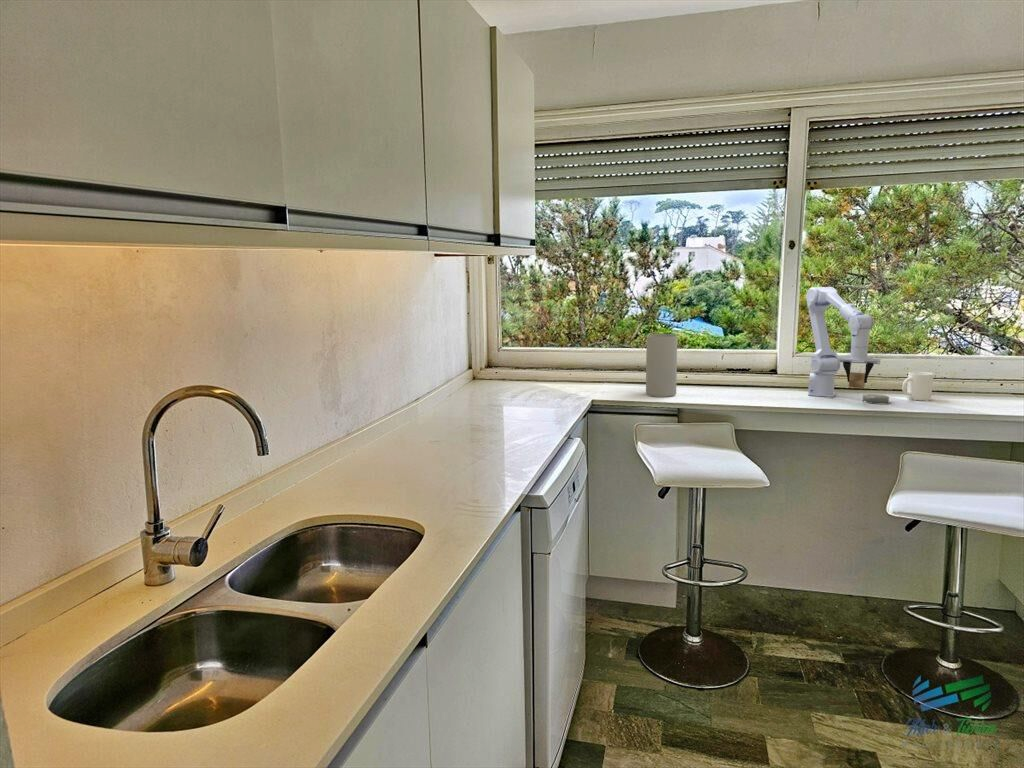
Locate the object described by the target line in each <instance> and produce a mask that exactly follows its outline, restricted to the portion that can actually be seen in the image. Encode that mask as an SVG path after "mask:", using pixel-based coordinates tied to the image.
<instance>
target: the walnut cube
mask: <svg viewBox="0 0 1024 768" xmlns="http://www.w3.org/2000/svg"><path fill="white" fill-rule="evenodd" d="M864 379H865V372H856V371H855V372H854V371H853V372H851V371H850V376H849V382H848V388H856V389H864V388H865V384H866V383H864Z"/></svg>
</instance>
